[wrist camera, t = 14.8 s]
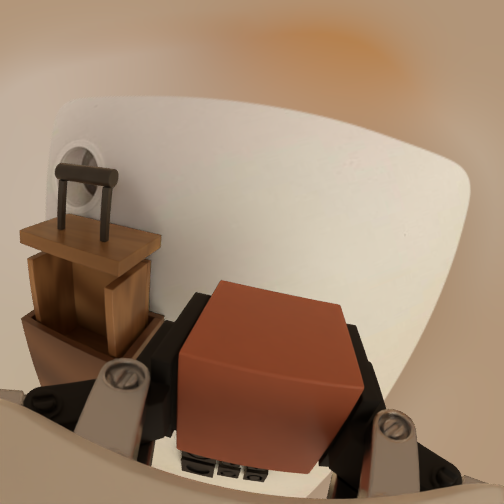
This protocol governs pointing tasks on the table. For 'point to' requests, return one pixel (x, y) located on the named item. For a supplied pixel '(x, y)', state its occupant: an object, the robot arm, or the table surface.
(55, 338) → the cabinet
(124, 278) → the drawer
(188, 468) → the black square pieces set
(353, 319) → the table surface
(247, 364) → the block
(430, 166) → the table surface
